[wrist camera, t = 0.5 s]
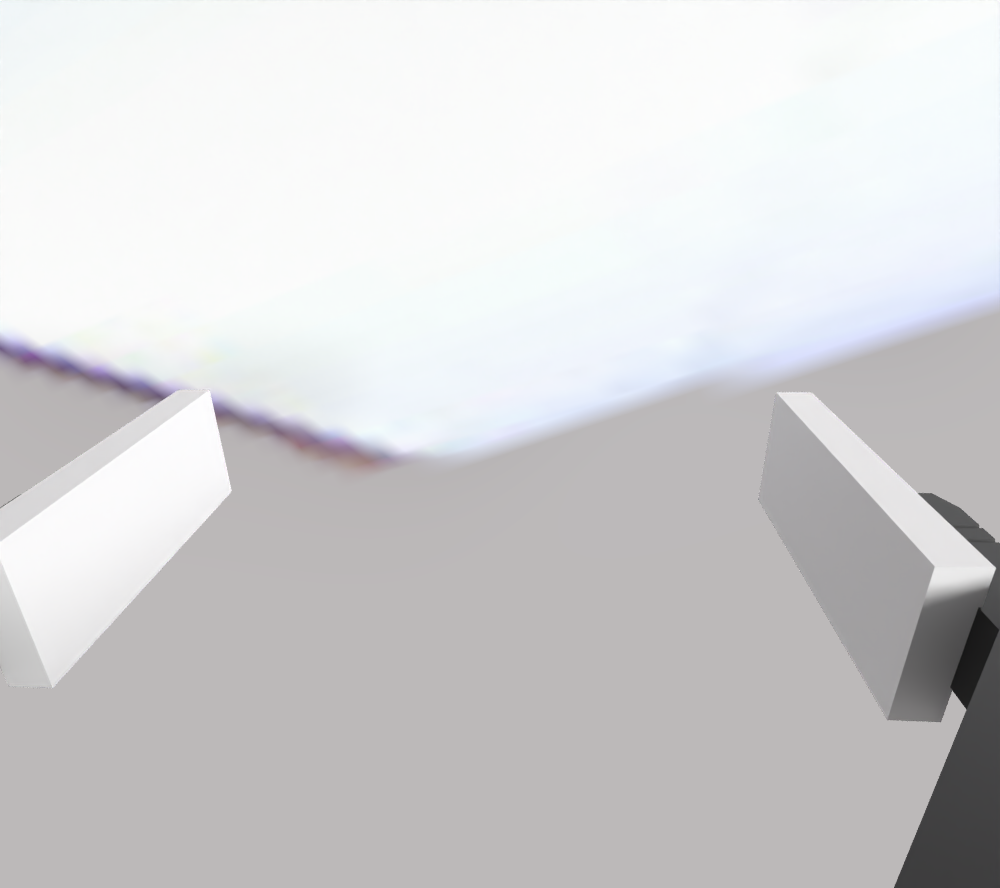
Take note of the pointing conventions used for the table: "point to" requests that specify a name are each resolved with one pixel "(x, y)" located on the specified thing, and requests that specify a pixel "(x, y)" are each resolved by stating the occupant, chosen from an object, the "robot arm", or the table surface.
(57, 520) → the robot arm
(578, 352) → the table surface
